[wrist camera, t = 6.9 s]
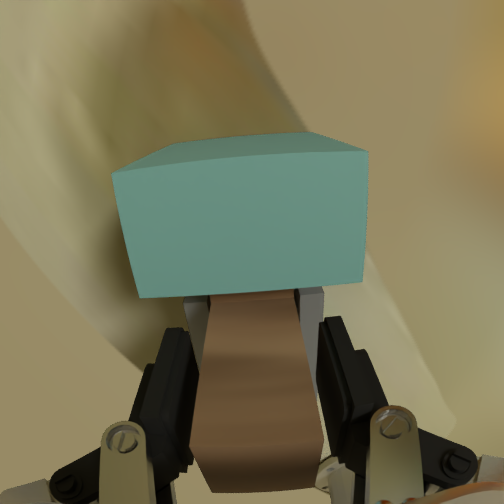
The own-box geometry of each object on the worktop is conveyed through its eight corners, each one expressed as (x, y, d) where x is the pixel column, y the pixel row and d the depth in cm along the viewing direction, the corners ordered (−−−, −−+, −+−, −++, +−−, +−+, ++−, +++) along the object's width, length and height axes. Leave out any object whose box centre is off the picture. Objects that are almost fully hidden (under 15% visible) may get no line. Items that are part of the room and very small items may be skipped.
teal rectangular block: (314, 207, 17) (362, 281, 10) (183, 218, 17) (139, 298, 10) (312, 132, 15) (368, 151, 8) (172, 143, 15) (111, 173, 8)
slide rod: (286, 315, 16) (314, 487, 7) (225, 320, 16) (212, 492, 7) (281, 170, 13) (343, 287, 4) (206, 176, 13) (134, 301, 4)
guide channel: (303, 362, 21) (314, 420, 17) (220, 368, 21) (215, 427, 17) (304, 243, 18) (324, 293, 13) (199, 251, 18) (183, 303, 13)
